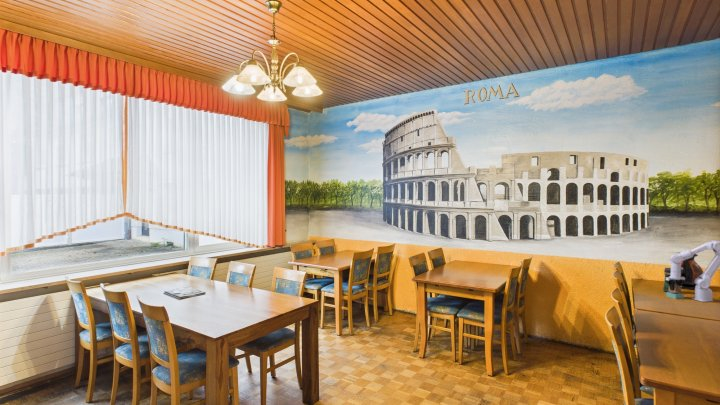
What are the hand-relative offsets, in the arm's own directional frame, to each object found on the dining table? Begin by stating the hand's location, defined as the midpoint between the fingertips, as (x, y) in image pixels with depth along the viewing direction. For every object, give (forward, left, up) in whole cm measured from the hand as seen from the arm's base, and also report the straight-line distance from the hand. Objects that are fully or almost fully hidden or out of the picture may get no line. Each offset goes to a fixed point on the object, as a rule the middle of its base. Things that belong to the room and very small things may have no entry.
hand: (675, 289), depth 275 cm
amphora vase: (-39, -24, -6) cm, 46 cm away
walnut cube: (0, 0, -2) cm, 2 cm away
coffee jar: (-13, -14, -6) cm, 20 cm away
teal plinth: (0, 0, -6) cm, 6 cm away
